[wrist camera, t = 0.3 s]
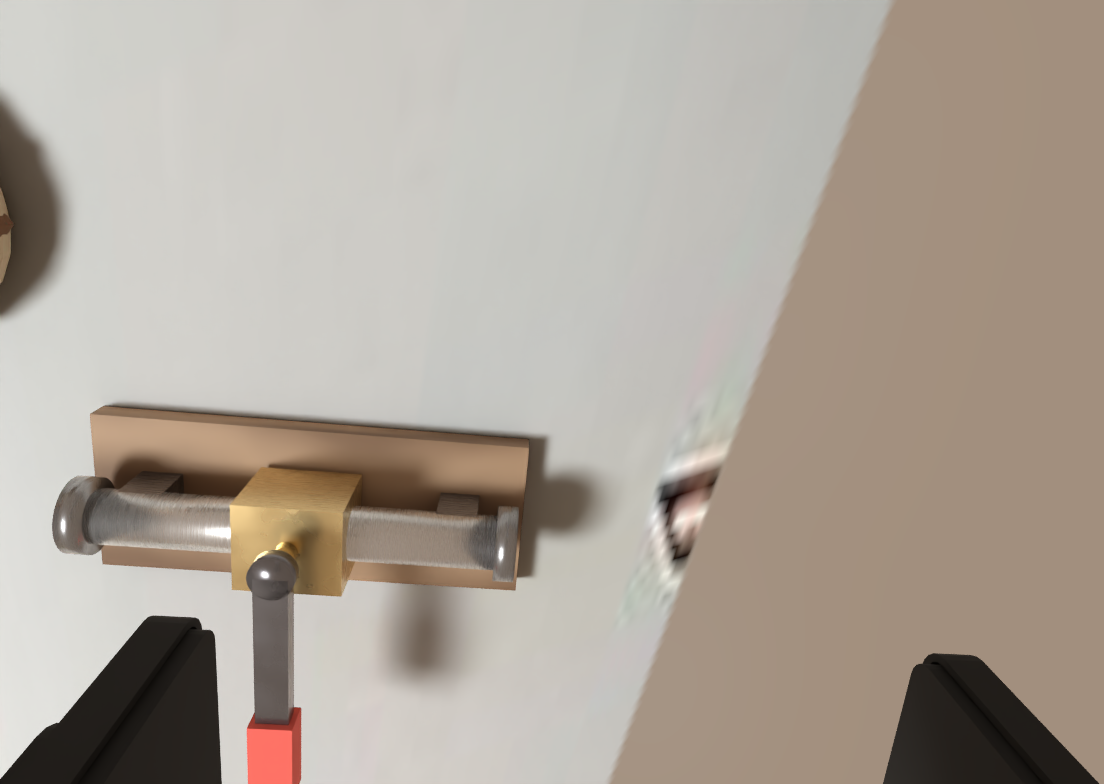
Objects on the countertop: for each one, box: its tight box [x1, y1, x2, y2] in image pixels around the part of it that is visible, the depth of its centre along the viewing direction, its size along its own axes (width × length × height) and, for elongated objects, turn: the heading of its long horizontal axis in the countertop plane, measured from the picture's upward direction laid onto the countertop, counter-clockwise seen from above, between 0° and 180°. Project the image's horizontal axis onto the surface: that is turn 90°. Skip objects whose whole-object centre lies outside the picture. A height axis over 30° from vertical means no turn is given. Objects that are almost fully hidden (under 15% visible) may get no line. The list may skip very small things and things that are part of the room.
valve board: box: [52, 406, 529, 596], centre depth 44 cm, size 10×26×9 cm, turn 84°
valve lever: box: [246, 550, 301, 784], centre depth 41 cm, size 15×2×2 cm, turn 174°
